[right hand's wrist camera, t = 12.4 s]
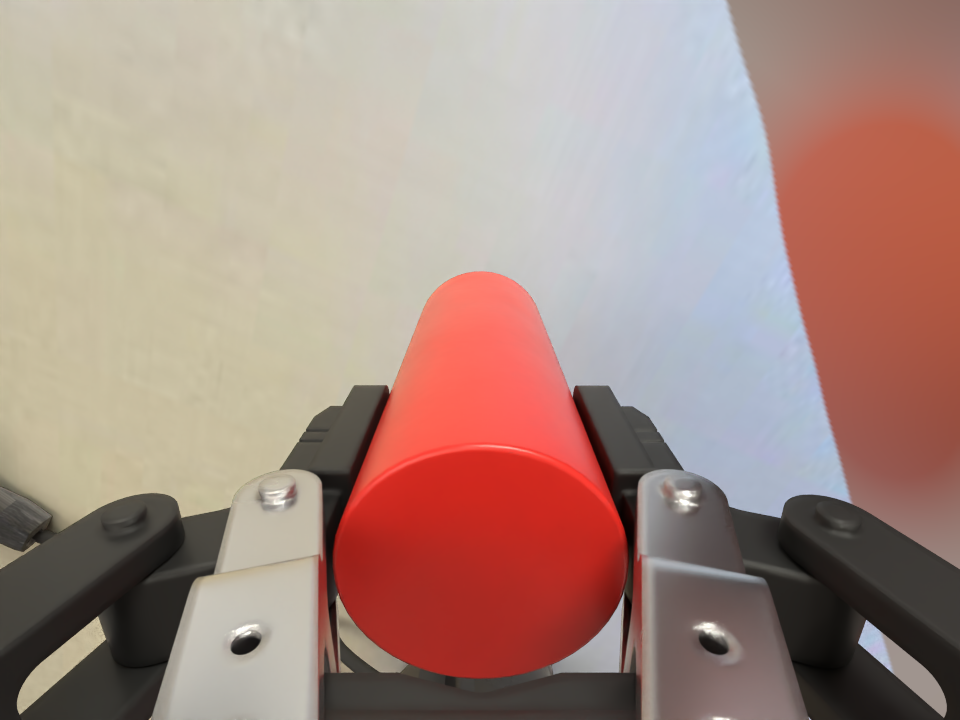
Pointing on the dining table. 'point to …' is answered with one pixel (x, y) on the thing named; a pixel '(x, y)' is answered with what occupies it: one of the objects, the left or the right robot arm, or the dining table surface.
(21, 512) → the handgun
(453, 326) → the red cylinder
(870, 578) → the right robot arm
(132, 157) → the dining table surface
